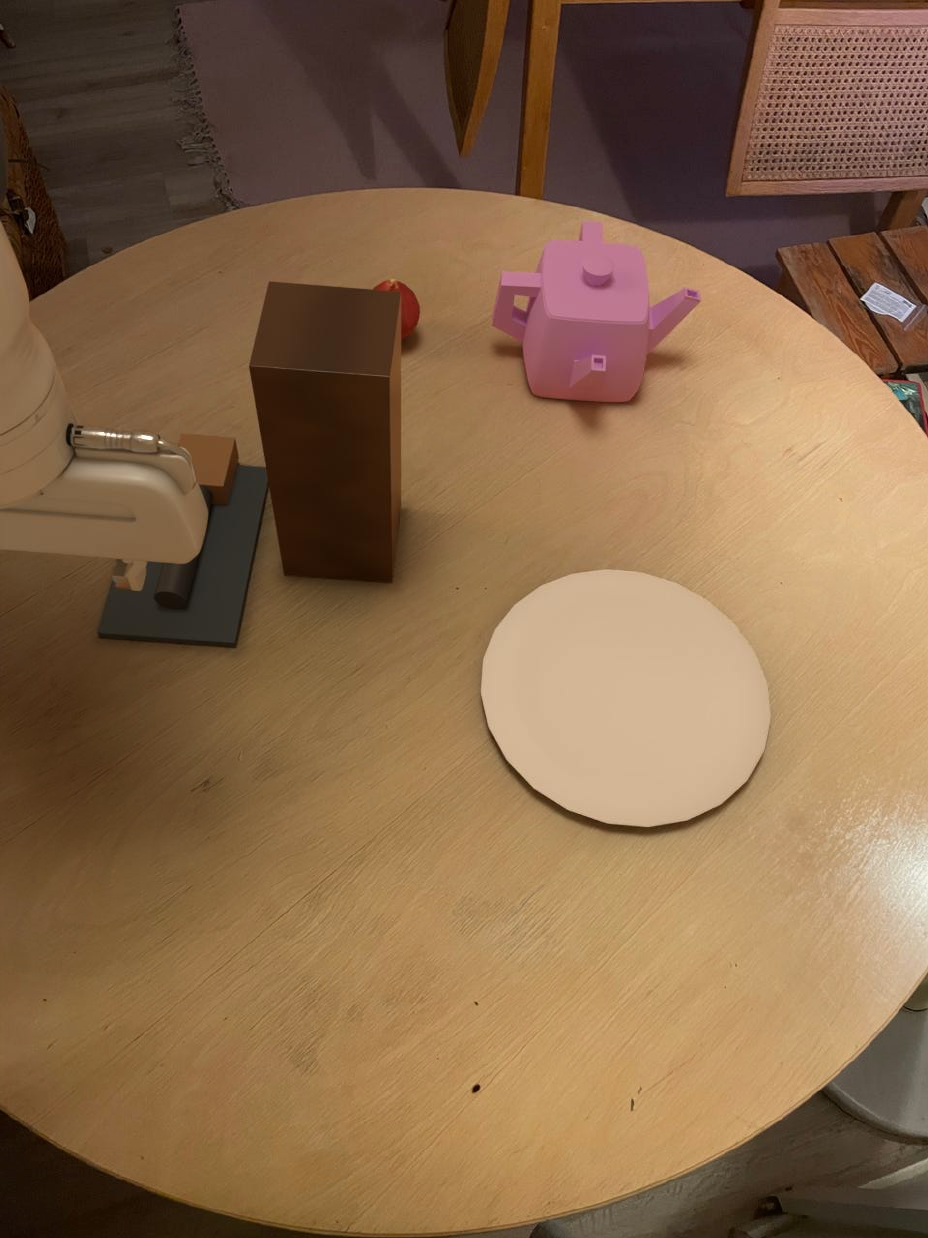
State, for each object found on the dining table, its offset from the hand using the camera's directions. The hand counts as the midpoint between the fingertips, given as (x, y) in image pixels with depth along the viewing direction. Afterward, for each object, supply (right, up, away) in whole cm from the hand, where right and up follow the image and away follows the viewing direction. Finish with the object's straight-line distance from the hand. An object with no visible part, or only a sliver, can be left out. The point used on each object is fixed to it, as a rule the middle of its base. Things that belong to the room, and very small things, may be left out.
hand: (56, 575), depth 64 cm
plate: (+39, -10, +26) cm, 48 cm away
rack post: (+14, +5, +33) cm, 36 cm away
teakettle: (+38, +25, +48) cm, 66 cm away
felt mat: (0, +4, +32) cm, 32 cm away
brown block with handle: (0, +6, +32) cm, 33 cm away
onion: (+18, +28, +48) cm, 58 cm away
